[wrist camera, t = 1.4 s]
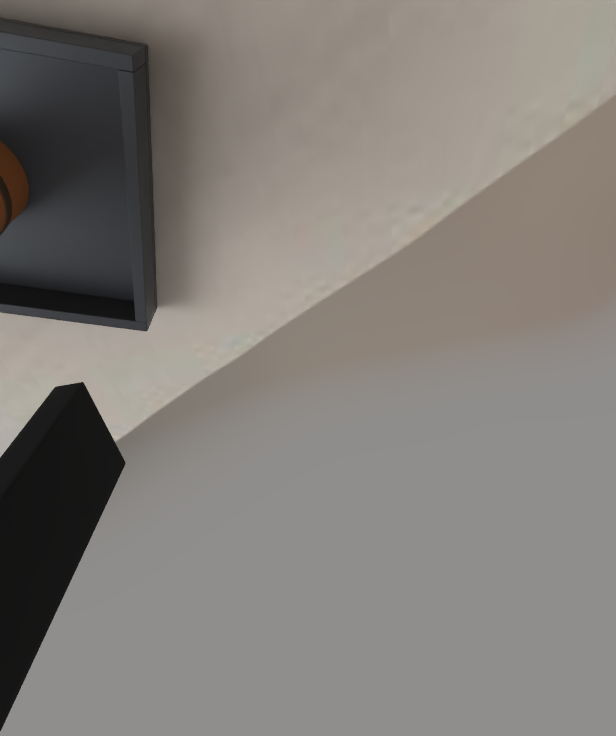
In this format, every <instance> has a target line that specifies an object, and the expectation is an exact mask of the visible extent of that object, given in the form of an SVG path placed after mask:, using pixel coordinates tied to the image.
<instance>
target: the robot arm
mask: <svg viewBox="0 0 616 736" xmlns="http://www.w3.org/2000/svg"><path fill="white" fill-rule="evenodd" d="M124 465H125V461H124V459H123V457H122V455H121V453H120V451H119V449H118V448H117V446H116V444H115V442H114V440H113V438H112V436H111V434H110V432H109V430H108V428H107V427H106V425H105V423H104V421H103V419H102V417H101V415H100V413H99V411H98V409H97V407H96V406H95V404H94V402H93V400H92V398H91V396H90V394H89V392H88V390H87V388H86V387H85V385H84V383H83V382H81V383H75V384H69V385H64V386H58V387H55V388H54V389H53V390H52V392H51V393H50V394H49V396H48V397H47V398H46V399H45V401H44V402H43V403H42V405H41V406H40V407H39V409H38V410H37V411H36V412H35V414H34V415H33V416H32V418H31V419H30V420H29V421H28V423H27V424H26V425H25V427H24V428H23V429H22V430H21V432H20V433H19V434H18V436H17V437H16V438H15V439H14V441H13V442H12V443H11V445H10V446H9V447H8V449H7V450H6V451H5V452H4V454H3V455H2V456H1V458H0V731H1V729H2V727H3V725H4V723H5V720H6V718H7V716H8V714H9V712H10V710H11V708H12V705H13V703H14V701H15V699H16V697H17V695H18V693H19V690H20V688H21V686H22V684H23V682H24V680H25V677H26V675H27V673H28V671H29V669H30V667H31V665H32V662H33V660H34V658H35V656H36V654H37V652H38V650H39V647H40V645H41V643H42V641H43V639H44V637H45V635H46V633H47V630H48V628H49V626H50V624H51V622H52V620H53V618H54V615H55V613H56V611H57V609H58V607H59V605H60V603H61V600H62V598H63V596H64V594H65V592H66V590H67V588H68V586H69V583H70V581H71V579H72V577H73V575H74V573H75V571H76V568H77V566H78V564H79V562H80V560H81V558H82V555H83V553H84V551H85V549H86V547H87V545H88V543H89V541H90V538H91V536H92V534H93V532H94V530H95V527H96V526H97V523H98V521H99V519H100V517H101V515H102V512H103V511H104V508H105V506H106V504H107V502H108V500H109V498H110V496H111V493H112V491H113V489H114V487H115V485H116V483H117V481H118V478H119V476H120V474H121V472H122V470H123V468H124Z"/></svg>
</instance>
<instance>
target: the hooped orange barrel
mask: <svg viewBox="0 0 616 736" xmlns="http://www.w3.org/2000/svg"><path fill="white" fill-rule="evenodd" d="M28 196H29V186H28V181H27V177H26V174H25V172H24V169H23V167H22V165H21V163H20V162H19V160H18V159H17V157H16V156H15V155H14V154H13V152H12V151H11V150H10V149H9V148H8V147H7V146H6V145H5V144H4V143H3V142H1V141H0V235H1V234H2V233H3V232H4V231H5V230H6V229H7V227H8V225H9V224H10V223H11V222H12V221H13V220H14V219H15V218H16V217H17V216H18V215H19V214H20V213H21V212H22V211H23V210H24V208H25V206H26V204H27V201H28Z"/></svg>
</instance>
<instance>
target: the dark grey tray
mask: <svg viewBox="0 0 616 736" xmlns="http://www.w3.org/2000/svg"><path fill="white" fill-rule="evenodd" d="M0 141H1V142H3V143H4V144H5V145H6V146H7V147H8V148H9V149H10V150H11V151H12V152H13V154H14V155H15V156H16V157H17V159H18V160H19V162H20V163H21V165H22V167H23V169H24V172H25V174H26V177H27V181H28V186H29V196H28V201H27V204H26V206H25V208H24V210H23V211H22V212H21V213H20V214H19V215H18V216H17V217H16V218H15V219H14V220H13V221H12V222H11V223H10V224H9V225H8V227H7V229H6V230H5V231H4V232H3V233H2V234H1V235H0V312H2V313H9V314H17V315H25V316H32V317H40V318H48V319H56V320H63V321H71V322H79V323H86V324H94V325H102V326H109V327H117V328H125V329H133V330H140V331H147V330H148V328H149V325H150V323H151V321H152V318H153V316H154V313H155V311H156V309H157V295H156V267H155V239H154V211H153V183H152V155H151V127H150V99H149V71H148V46H147V45H146V44H140V43H135V42H129V41H124V40H118V39H113V38H107V37H102V36H96V35H91V34H85V33H80V32H74V31H69V30H63V29H58V28H52V27H47V26H41V25H36V24H30V23H25V22H19V21H14V20H8V19H3V18H0Z"/></svg>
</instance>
